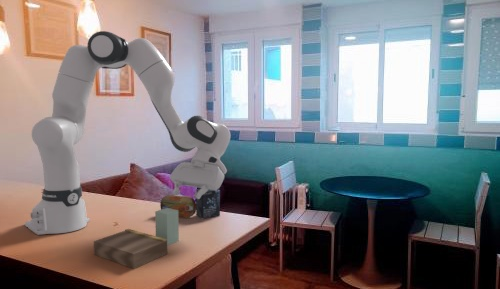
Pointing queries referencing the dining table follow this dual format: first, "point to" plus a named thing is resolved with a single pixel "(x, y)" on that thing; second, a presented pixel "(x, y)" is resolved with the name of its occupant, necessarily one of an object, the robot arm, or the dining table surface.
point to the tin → (179, 205)
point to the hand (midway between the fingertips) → (185, 195)
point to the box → (208, 204)
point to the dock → (130, 248)
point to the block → (167, 225)
